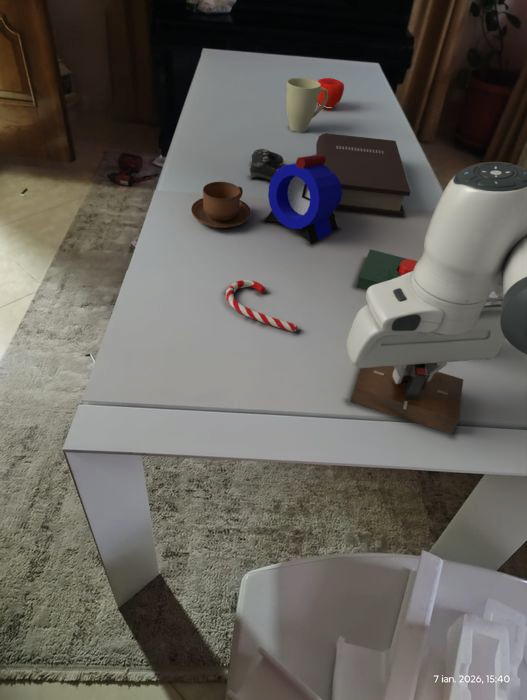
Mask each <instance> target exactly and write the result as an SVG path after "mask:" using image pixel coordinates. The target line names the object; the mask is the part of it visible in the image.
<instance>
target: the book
mask: <svg viewBox="0 0 527 700" xmlns="http://www.w3.org/2000/svg"><path fill="white" fill-rule="evenodd" d="M315 145H316V148H315V149H316V151H315V155H319V154H323V155H324V156H325V158H326V161H325V163H324V164H323V165H325V166H326V167H328V169H329V170H330V171H331V172H333V173H334V174H335V175H336V176H337V177H338V179H339V181H340V184H341V188H342V197H341V201H340V203H339V205H338V207H337V208H336V209H335V210H334V211H343V212H351V213H359V214H360V213H362V214H369V215H370V214H371V215H379V216H388V217H398V218H404V216H405V211H404V207H403V201H404V198H405V197H410V196H411V194H412V193H411V191H412V190H411V188H410V184H409V180H408V178H407V174H406V171H405V168H404V164H403V161H402V158H401V155H400V151H399V147H398V144H397V140H393V139H382V138H373V137H365V136H356V135H348V134H337V133H330V132H324V133H321V134H320V135H319V136H318V138H317V141H316V144H315Z"/></svg>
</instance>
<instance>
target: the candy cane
mask: <svg viewBox="0 0 527 700" xmlns="http://www.w3.org/2000/svg"><path fill="white" fill-rule="evenodd" d="M242 288H253V289H255V290H257V291H258V292H259V293H261V294H263V293H264V294H265V292H266V287H264V285H263V284H261V283H259V282H257V281H255V280H251V279H241V280H237V281H235V282H233V283H231V284H230V285H229V286H228V287H227V289H226V291H225V298H226V301H227V303H228V304H229V306H230V307H232V309H233V310H235V311H236V312H238V313H239V314H241V315H243V316H245V317H247V318H250V319H252V320H255V321H257V322H260V323H263V324H265V325H268V326H272V327H275V328H278V329H281V330H285V331H288V332H294V333H296V332H297V330H298V325H297V324H296V323H293V322H290V321H286V320H283V319H279V318H276V317H273V316H270V315H267V314H264V313H262V312H259V311H256V310H253V309H251V308H249V307H247V306H245V305H243V304H242V303H240V302H239V301H237V300H236V298H235V296H234V294H235V292H237V290H239V289H242Z"/></svg>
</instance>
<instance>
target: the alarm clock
mask: <svg viewBox="0 0 527 700" xmlns="http://www.w3.org/2000/svg"><path fill="white" fill-rule="evenodd" d="M325 161H326V158H325V156H324V155H323V154H319V155H316V154H312V155H307V156H300V157H298V158H296V161H295V163H290V164H285V165H283V166H281V167H280V168H277V169H276V170H277V171H276V173H275V174H274V175H273V177H272V179H271V181H270V182H269V185H268V195H267V197H268V204H269V207H270V212H269V214H268V215H267V216H266V218H265V219H264V222H279V223H280V224H281V225H283V226H284V227H286V228H288V229H292V230H297V229H298V230H297V231H298V233H300V234H301V236H302V237H303V238H304V239H305V240H306V241H307V243H309V244H310V245H311V246H312V245H314V244H315V243H317V242H319V241H320V240H322V239H323V238H325V237H327V236H329V235H330V234H332V233H334V232H335V231H337V230H338V229H339V228H338V224H337V219H336V215H335V211H336V210H335V209H336V208H337V207H338V205H339V203H340V201H341V197H342V188H341V184H340V181H339V179H338V177H337V176H336V175H335V174H334V173H333V172H331V171H330V170H329V169H328V167H326V166H325V165H323V164H324V163H325Z"/></svg>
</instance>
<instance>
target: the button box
mask: <svg viewBox="0 0 527 700" xmlns="http://www.w3.org/2000/svg"><path fill="white" fill-rule="evenodd" d="M405 259H407V258H406V257H403V256H398V255H395V254H390V253H387V252H382V251H378V250H374V249H369V250H368V253H367V256H366V258H365V261H364V263H363V266H362V269H361V271H360V273H359V276H358V280H357V283H356V288H358V289H363V290H366V291H367V289H368V288H369V287H370V286H372V285H375V284H378V283H381V282H385V281H388V280H391V279H394V278H397V277H399V276H402V275H401V274H399V268H400V265H401V262H402V261H403V260H405ZM416 261H417V262H418V261H419V260H416Z"/></svg>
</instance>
